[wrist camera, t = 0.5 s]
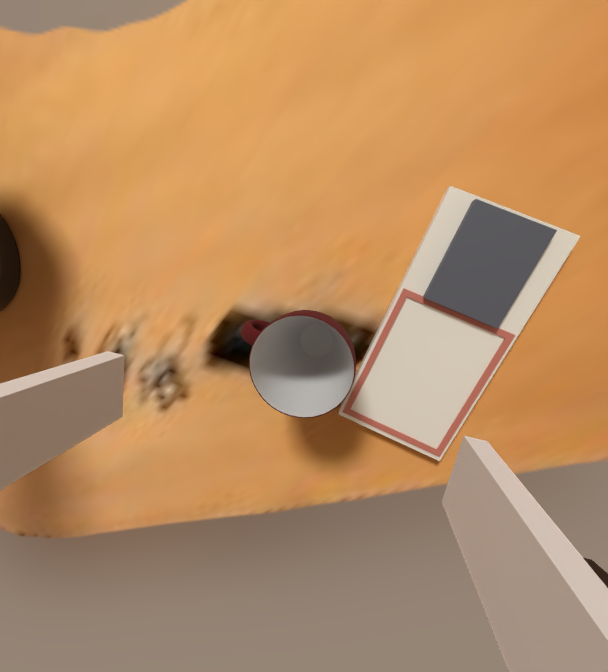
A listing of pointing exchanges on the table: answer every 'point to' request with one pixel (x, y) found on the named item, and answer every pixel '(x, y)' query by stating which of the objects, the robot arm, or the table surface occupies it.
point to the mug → (301, 362)
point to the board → (453, 319)
